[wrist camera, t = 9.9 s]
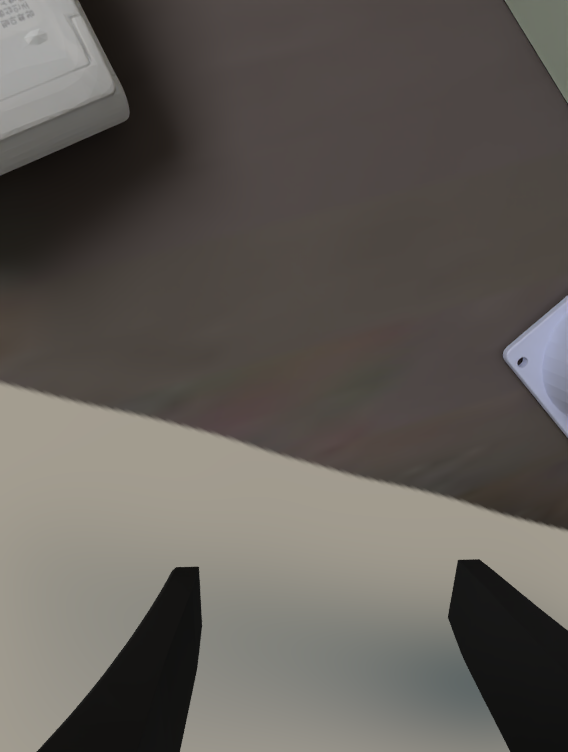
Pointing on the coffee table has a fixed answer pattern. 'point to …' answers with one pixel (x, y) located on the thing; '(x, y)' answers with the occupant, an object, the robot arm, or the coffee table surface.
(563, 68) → the socket
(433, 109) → the coffee table surface
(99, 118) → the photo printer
